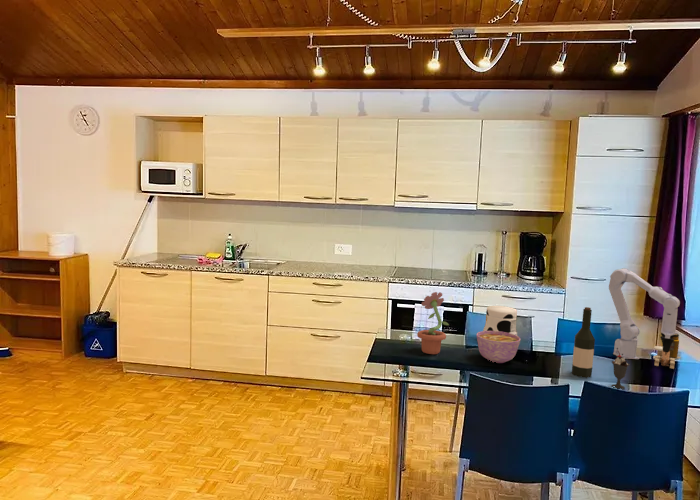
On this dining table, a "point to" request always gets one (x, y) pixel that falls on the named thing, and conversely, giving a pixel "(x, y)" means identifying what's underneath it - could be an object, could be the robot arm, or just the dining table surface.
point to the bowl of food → (497, 345)
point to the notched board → (659, 359)
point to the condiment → (674, 347)
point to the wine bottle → (584, 348)
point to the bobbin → (660, 350)
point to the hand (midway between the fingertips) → (665, 350)
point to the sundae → (619, 370)
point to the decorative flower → (431, 336)
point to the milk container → (501, 319)
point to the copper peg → (665, 358)
